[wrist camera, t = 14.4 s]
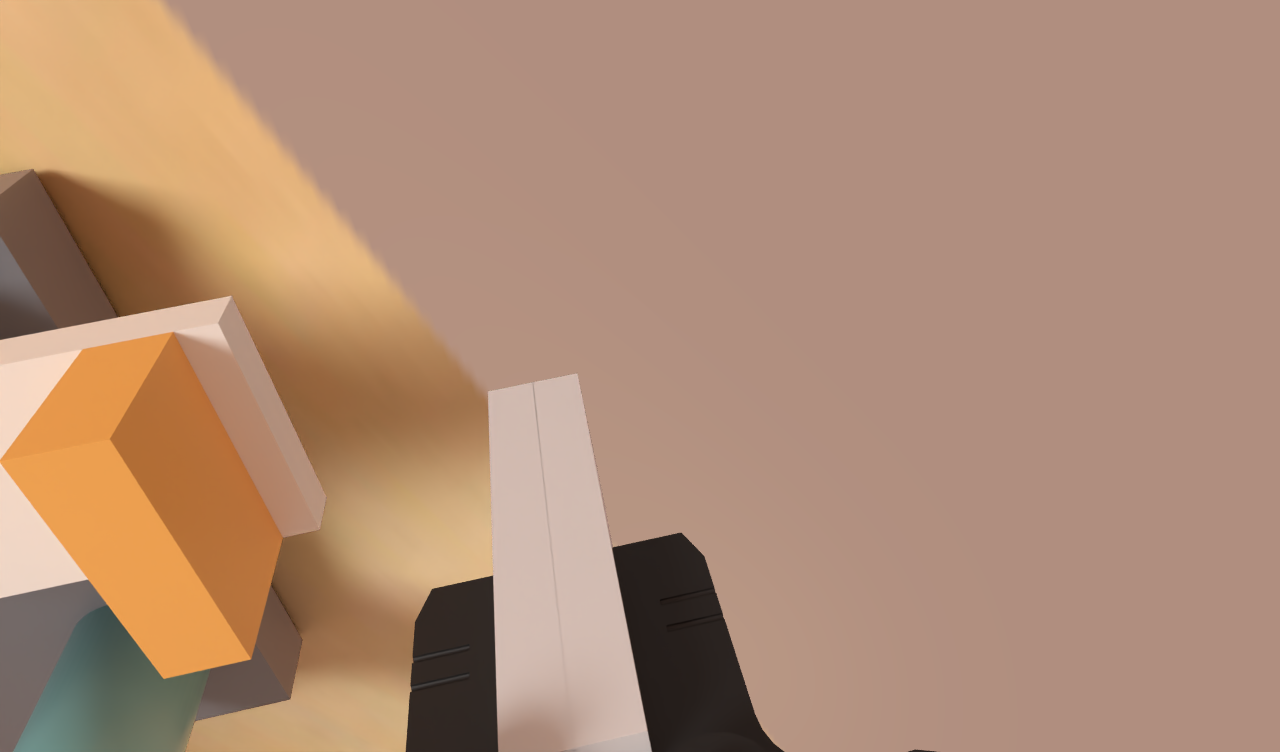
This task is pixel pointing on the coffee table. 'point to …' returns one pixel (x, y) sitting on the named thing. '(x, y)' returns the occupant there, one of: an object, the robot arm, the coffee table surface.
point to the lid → (152, 476)
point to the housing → (76, 613)
